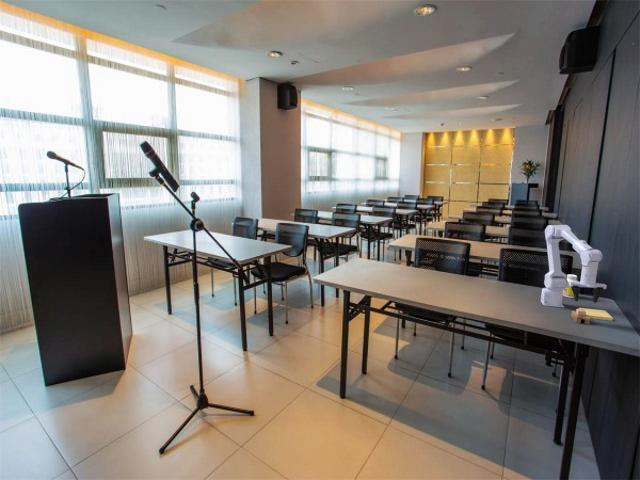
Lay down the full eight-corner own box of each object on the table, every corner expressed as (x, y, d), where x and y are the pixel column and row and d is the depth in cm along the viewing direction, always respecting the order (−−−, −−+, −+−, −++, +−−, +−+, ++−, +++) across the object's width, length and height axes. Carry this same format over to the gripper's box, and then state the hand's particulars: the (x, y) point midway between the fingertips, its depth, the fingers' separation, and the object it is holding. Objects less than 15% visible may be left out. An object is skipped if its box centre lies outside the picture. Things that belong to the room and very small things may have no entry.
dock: (585, 317, 169) (585, 314, 168) (578, 310, 178) (579, 307, 178) (612, 320, 165) (613, 317, 164) (604, 313, 174) (604, 310, 174)
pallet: (576, 323, 163) (577, 316, 163) (571, 316, 171) (571, 310, 170) (588, 324, 161) (589, 318, 161) (583, 318, 169) (584, 312, 168)
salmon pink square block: (577, 315, 165) (578, 310, 164) (575, 312, 167) (576, 308, 167) (585, 316, 164) (585, 311, 163) (583, 313, 166) (583, 309, 166)
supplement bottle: (561, 293, 203) (563, 273, 201) (574, 295, 200) (577, 274, 198) (564, 297, 197) (567, 276, 194) (578, 298, 194) (581, 277, 192)
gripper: (574, 275, 161) (571, 302, 163) (611, 278, 156) (607, 305, 159) (568, 271, 167) (565, 297, 170) (603, 274, 163) (599, 300, 166)
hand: (585, 301), depth 165 cm, fingers open, 7 cm apart
